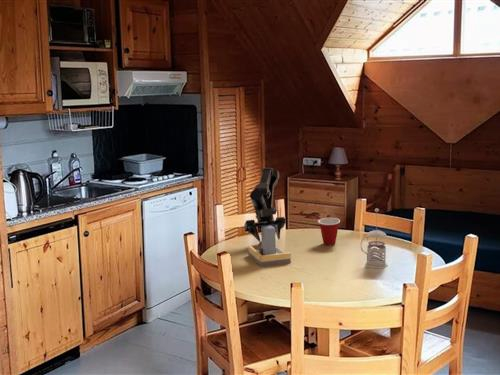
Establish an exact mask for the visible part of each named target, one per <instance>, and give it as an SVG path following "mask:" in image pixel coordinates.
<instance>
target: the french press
mask: <svg viewBox="0 0 500 375" xmlns="http://www.w3.org/2000/svg"><path fill="white" fill-rule="evenodd" d="M374 212H376V218H375V219H376V220H375V221H376V224H375V225H376V226H375V227H376V229H375V230H372V231H371V230H370V231H369V232H367V234H366V235H367V236H364V237H363V238H362V239H361V241H360V244H362V243H363V241H364V240H365V239H366V241H368V242H367V244H368V245H367V247H366V248H367V252H366V251H365V250H364V249H363V247H362V246H360V250H361V251H363V253H364V254H365V255H366V262H365V264H364V266H365V267H367V268H370V269H385V268H388V266H389V265H388V263H387V262H386V254H387V250H386V249H387V247H386V243H385V242H384V241H380V240H377V238H384V237H386V236H387V234H386V233H385V232H384V231H381V230H379V229H378V212H380V209H379V208H375V209H374ZM369 237H372V238H376V239H375V240H373V241H372V240H371V241H369V240H368V239H369Z"/></svg>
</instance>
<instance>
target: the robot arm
mask: <svg viewBox="0 0 500 375" xmlns="http://www.w3.org/2000/svg"><path fill="white" fill-rule="evenodd" d="M279 179H280V172H279V170H277V169H274V168H272V167H263V168H262V170H261V177H260V179H259V182H258V184H256V185H255V187H254V189H253V190H252V191H251V192H250V194H249V197H250V200H251V204H252V205H253V210H254V214H255V219H256V220H257V221H255V220H254V219H248V220H245V223H244V225H243V231H244V232H247V233H249V234H251V235H252V236H253V237H254V238H255V239H256V240H257V241H258V242H259V244H261V245H262V240H261V238H260V235H259V233H261V227H262V226H273V227H274V228H275V235H276V237H277V239H278V240H280V238H281V230H282V228H284V227H285V225H286V223H287V220H286V218H285V217H284V216H278V217H276V218H274V215H276V214H277V209H276V206H273V203H274V190H275V187H276V186H277V185H278V182H279Z"/></svg>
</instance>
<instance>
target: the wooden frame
mask: <svg viewBox="0 0 500 375" xmlns="http://www.w3.org/2000/svg"><path fill="white" fill-rule="evenodd" d="M248 256H249V257H250V258H251V259H252V260H253V261H254V262H255V261H256V262H257V263H258V264H257V265H258V266H259V267H265V266H266V267H267V266H268V265H269V266H275V265H284V264H291V263H292V261H291V260H292V259H291V257H292V256H291V252H290V251H287V252H283V251H282V250H280V249H279V248H278V247H276V254H271V255H261V254H260V253H259V249H255V248H254V247H253V246H252V245H248ZM256 262H255V263H256ZM269 266H268V267H269Z"/></svg>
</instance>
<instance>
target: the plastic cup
mask: <svg viewBox="0 0 500 375" xmlns="http://www.w3.org/2000/svg"><path fill="white" fill-rule="evenodd" d="M317 223H318V224H319V228H320V233H321V238H322V243H323V245H325V246H334V245H336V242H337V237H338V229H339V225H340V223H341V220H340V219H339V218H336V217H324V218H319V219H318V220H317Z"/></svg>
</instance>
